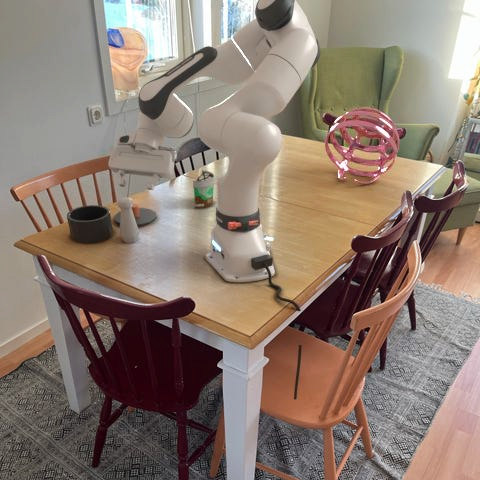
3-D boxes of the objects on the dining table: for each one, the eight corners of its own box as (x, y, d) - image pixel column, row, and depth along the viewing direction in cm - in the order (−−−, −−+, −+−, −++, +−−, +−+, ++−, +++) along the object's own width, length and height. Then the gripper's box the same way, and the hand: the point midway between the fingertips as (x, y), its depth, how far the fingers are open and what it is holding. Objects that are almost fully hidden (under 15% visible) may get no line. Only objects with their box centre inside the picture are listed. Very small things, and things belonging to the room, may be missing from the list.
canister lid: (159, 225, 154) (158, 211, 152) (116, 230, 151) (113, 216, 149) (154, 209, 165) (152, 196, 162) (113, 213, 162) (111, 200, 159)
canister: (114, 240, 145) (111, 219, 141) (71, 245, 142) (66, 223, 138) (111, 224, 155) (108, 203, 151) (71, 228, 152) (67, 207, 148)
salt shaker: (130, 245, 142) (125, 204, 135) (116, 241, 145) (110, 200, 137) (143, 238, 146) (139, 197, 139) (129, 234, 149) (124, 194, 141)
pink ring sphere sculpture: (374, 145, 161) (398, 86, 169) (303, 151, 178) (327, 96, 186) (395, 198, 182) (415, 143, 190) (330, 199, 199) (351, 148, 207)
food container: (211, 211, 164) (210, 183, 158) (194, 210, 165) (192, 181, 159) (219, 198, 174) (219, 171, 168) (203, 197, 175) (202, 169, 169)
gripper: (181, 153, 146) (171, 196, 144) (121, 147, 151) (110, 188, 149) (174, 142, 140) (164, 186, 138) (112, 136, 144) (100, 179, 142)
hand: (135, 187), depth 143 cm, fingers open, 8 cm apart
